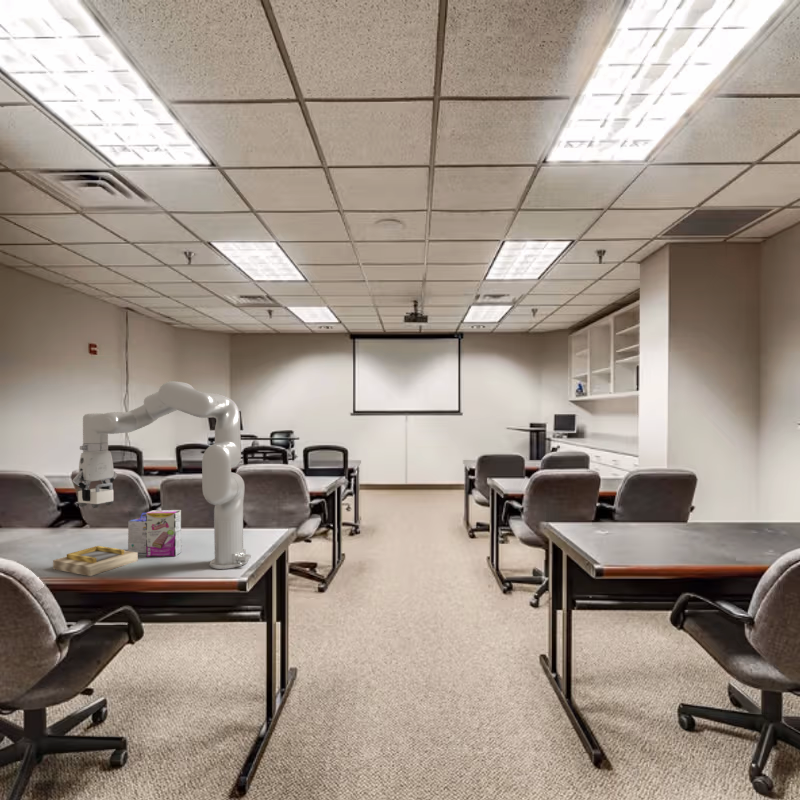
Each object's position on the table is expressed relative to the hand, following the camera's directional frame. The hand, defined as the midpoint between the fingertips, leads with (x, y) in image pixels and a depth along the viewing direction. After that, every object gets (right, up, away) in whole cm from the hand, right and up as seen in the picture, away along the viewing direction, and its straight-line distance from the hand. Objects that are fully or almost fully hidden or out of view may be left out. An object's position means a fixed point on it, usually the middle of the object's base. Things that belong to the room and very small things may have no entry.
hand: (96, 498), depth 169 cm
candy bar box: (+19, -23, +10) cm, 32 cm away
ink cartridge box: (+9, -24, +15) cm, 30 cm away
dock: (0, -23, -1) cm, 23 cm away
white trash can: (0, -3, 0) cm, 3 cm away
